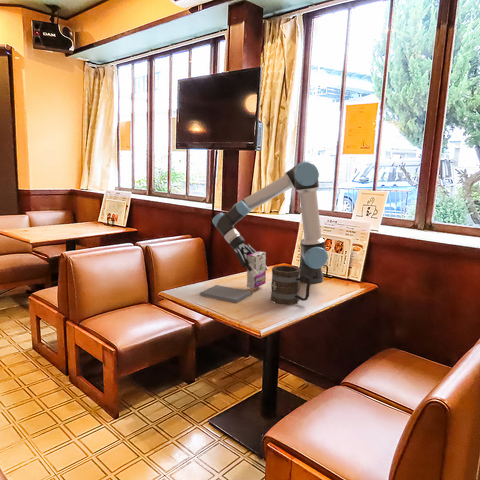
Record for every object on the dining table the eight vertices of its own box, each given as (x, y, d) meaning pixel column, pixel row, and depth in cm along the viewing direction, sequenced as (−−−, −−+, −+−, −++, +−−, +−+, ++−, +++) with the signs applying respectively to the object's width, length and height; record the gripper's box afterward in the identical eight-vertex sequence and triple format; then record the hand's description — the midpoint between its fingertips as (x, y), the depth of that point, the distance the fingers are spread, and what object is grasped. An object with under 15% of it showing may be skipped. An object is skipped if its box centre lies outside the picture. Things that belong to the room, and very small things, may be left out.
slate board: (251, 294, 196) (251, 291, 196) (236, 302, 183) (236, 299, 183) (216, 287, 205) (216, 285, 205) (199, 295, 192) (199, 292, 192)
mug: (264, 300, 188) (265, 268, 186) (281, 294, 198) (282, 264, 196) (300, 310, 176) (302, 277, 173) (316, 303, 186) (318, 271, 183)
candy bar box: (257, 282, 211) (258, 251, 208) (265, 283, 208) (266, 252, 205) (246, 287, 201) (246, 254, 198) (254, 288, 199) (255, 256, 196)
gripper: (241, 240, 219) (266, 272, 214) (218, 247, 198) (245, 282, 194) (250, 231, 215) (275, 263, 211) (227, 238, 195) (255, 273, 190)
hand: (261, 272), depth 202 cm, fingers closed on candy bar box, 11 cm apart
